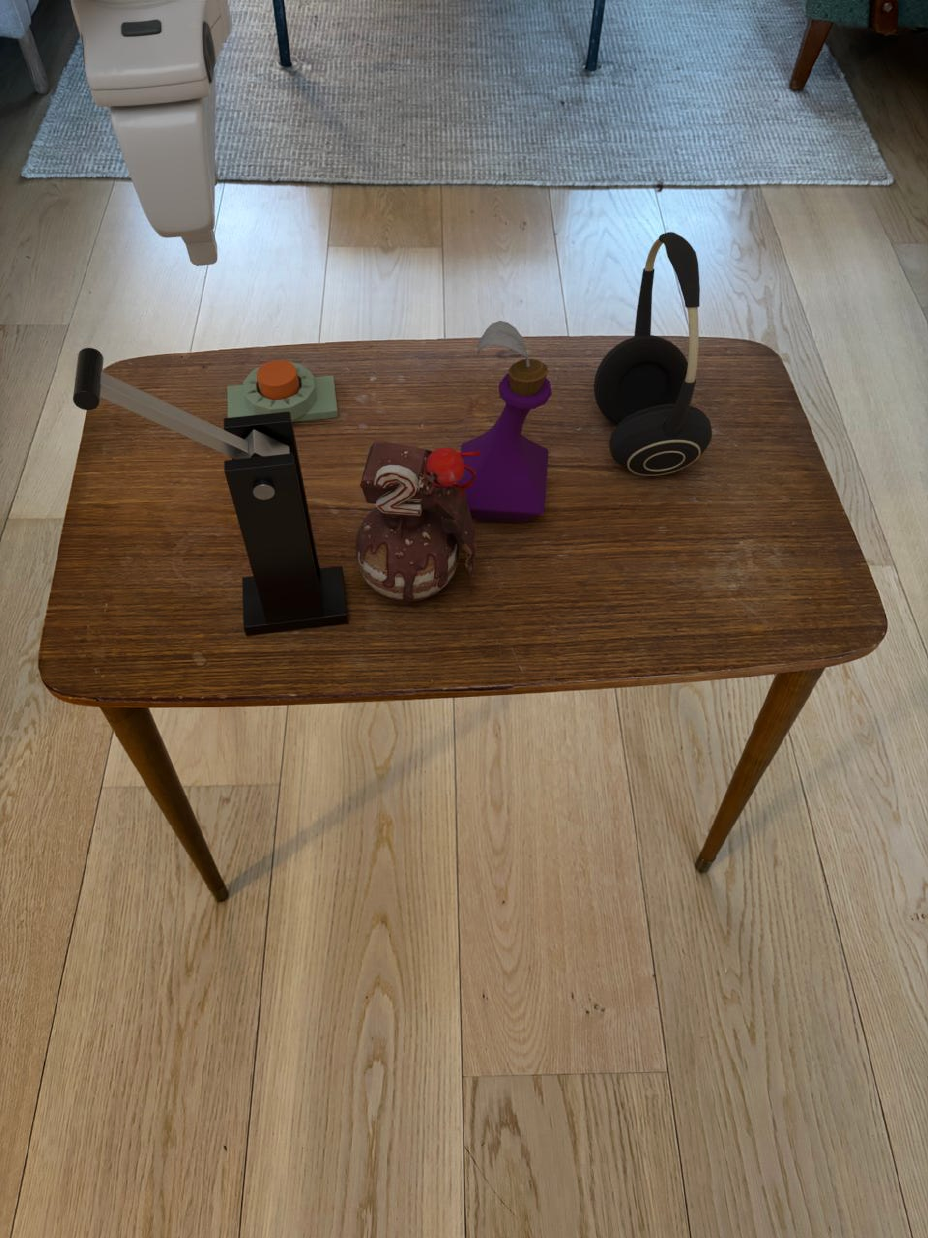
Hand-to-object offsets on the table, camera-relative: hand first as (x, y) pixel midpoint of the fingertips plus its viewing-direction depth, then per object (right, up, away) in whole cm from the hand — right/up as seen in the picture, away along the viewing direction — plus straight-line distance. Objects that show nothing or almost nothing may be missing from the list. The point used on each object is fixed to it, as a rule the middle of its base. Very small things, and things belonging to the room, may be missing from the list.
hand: (206, 219), depth 69 cm
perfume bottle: (+21, -18, +16) cm, 32 cm away
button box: (+1, -8, +23) cm, 25 cm away
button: (+1, -7, +22) cm, 23 cm away
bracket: (+5, -27, +9) cm, 29 cm away
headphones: (+34, -12, +20) cm, 42 cm away
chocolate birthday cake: (+14, -25, +11) cm, 31 cm away
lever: (0, -16, -6) cm, 17 cm away
